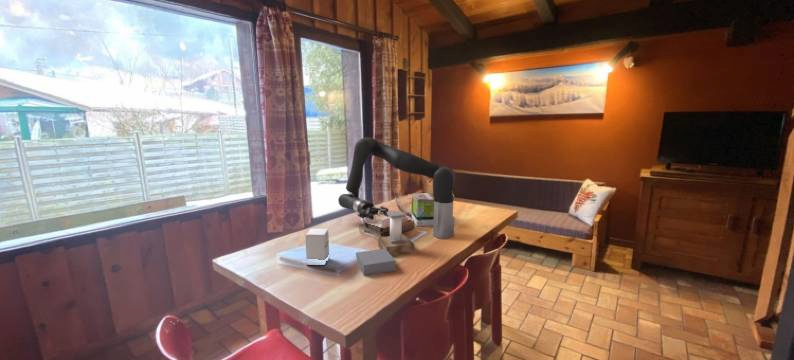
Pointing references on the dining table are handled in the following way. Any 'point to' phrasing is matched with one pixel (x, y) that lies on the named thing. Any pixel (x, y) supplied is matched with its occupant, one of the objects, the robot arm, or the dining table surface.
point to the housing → (395, 227)
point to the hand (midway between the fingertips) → (381, 216)
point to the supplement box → (317, 244)
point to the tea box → (422, 209)
